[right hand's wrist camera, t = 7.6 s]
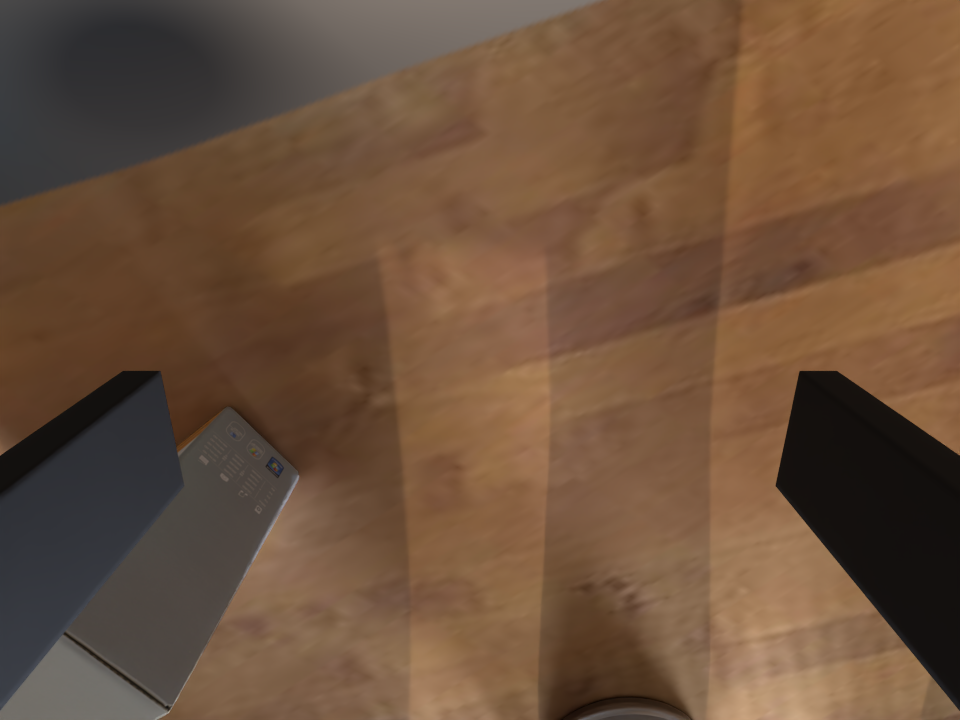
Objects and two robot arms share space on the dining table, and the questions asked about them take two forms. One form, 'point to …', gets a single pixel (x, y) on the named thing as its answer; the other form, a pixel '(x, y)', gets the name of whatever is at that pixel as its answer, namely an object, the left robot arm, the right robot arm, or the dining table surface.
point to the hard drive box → (166, 586)
